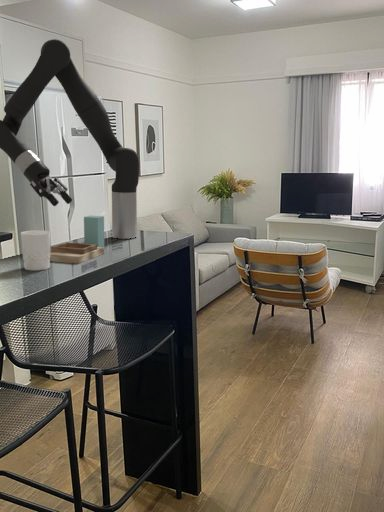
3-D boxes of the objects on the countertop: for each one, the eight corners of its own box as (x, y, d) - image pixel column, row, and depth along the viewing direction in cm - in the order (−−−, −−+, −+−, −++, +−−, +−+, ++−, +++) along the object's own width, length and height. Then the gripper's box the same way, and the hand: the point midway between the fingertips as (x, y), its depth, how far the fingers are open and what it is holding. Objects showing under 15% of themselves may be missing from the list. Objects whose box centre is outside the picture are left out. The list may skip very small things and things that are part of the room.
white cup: (20, 271, 137) (18, 234, 135) (24, 265, 144) (22, 230, 142) (50, 270, 138) (49, 234, 136) (52, 264, 146) (51, 230, 144)
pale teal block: (91, 247, 171) (90, 215, 169) (104, 248, 170) (103, 216, 168) (84, 250, 167) (83, 217, 165) (98, 251, 166) (97, 217, 164)
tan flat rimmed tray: (70, 250, 166) (70, 240, 165) (104, 253, 162) (104, 242, 162) (43, 260, 151) (42, 248, 150) (79, 263, 147) (78, 251, 147)
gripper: (25, 159, 162) (58, 197, 161) (50, 159, 175) (81, 194, 174) (12, 176, 164) (45, 213, 163) (38, 174, 178) (68, 208, 177)
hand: (63, 203), depth 169 cm, fingers open, 8 cm apart
